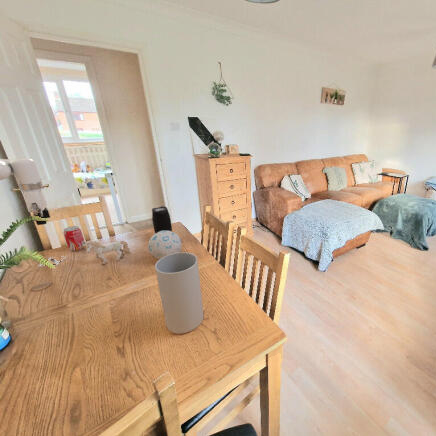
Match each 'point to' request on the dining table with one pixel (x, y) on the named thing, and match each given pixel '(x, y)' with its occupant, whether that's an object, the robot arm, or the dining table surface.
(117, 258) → the unicorn figurine
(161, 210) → the portable speaker
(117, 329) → the dining table surface
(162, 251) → the puzzle ball
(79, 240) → the soda can
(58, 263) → the grey square slab
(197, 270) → the cylinder vase
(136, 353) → the dining table surface
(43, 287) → the cork coaster
